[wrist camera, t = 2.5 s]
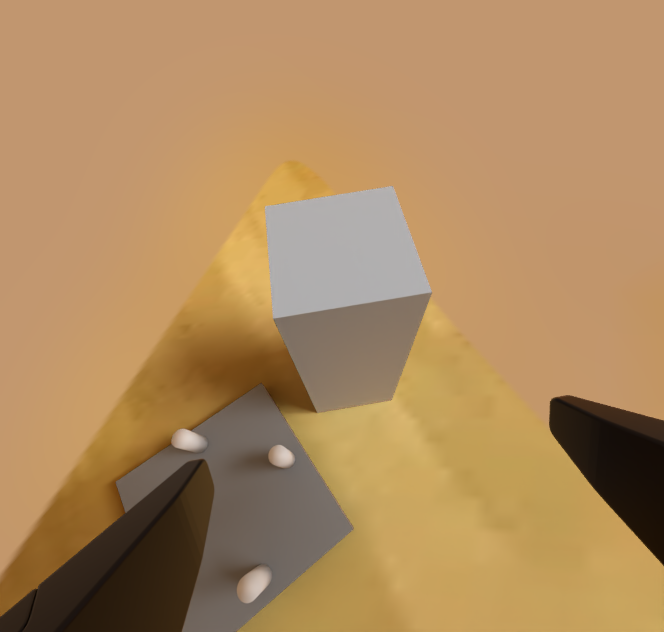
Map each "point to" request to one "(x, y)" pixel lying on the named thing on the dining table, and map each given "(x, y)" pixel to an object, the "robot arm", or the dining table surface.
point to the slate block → (346, 293)
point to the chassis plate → (248, 509)
